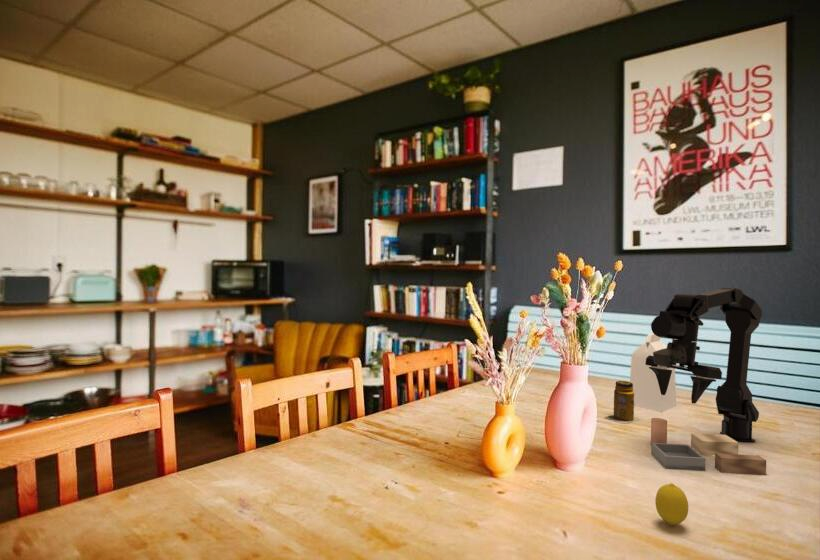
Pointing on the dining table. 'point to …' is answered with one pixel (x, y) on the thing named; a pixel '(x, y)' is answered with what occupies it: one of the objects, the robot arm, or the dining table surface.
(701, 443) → the light wood rectangular prism
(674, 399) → the milk
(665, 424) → the dowel
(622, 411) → the condiment
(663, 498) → the lemon
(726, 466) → the block
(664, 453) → the tray
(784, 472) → the dining table surface
